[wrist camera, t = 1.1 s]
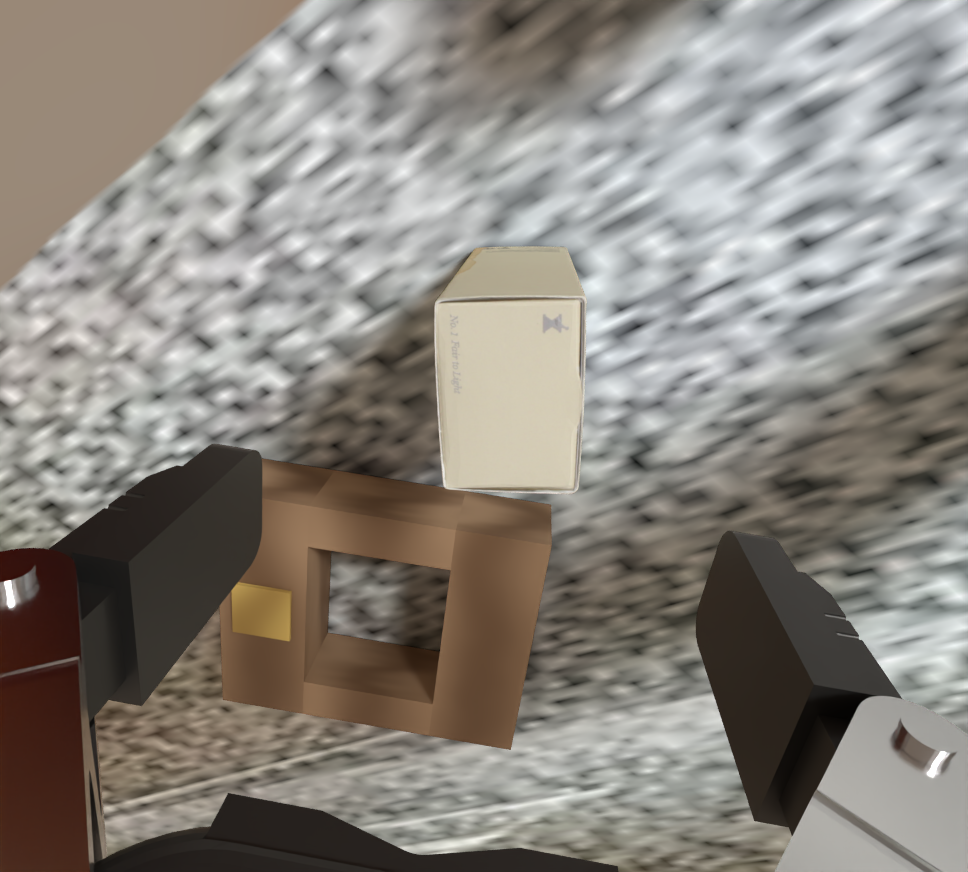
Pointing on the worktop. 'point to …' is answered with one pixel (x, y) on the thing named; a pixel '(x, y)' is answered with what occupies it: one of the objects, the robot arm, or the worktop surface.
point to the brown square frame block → (378, 665)
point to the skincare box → (511, 372)
